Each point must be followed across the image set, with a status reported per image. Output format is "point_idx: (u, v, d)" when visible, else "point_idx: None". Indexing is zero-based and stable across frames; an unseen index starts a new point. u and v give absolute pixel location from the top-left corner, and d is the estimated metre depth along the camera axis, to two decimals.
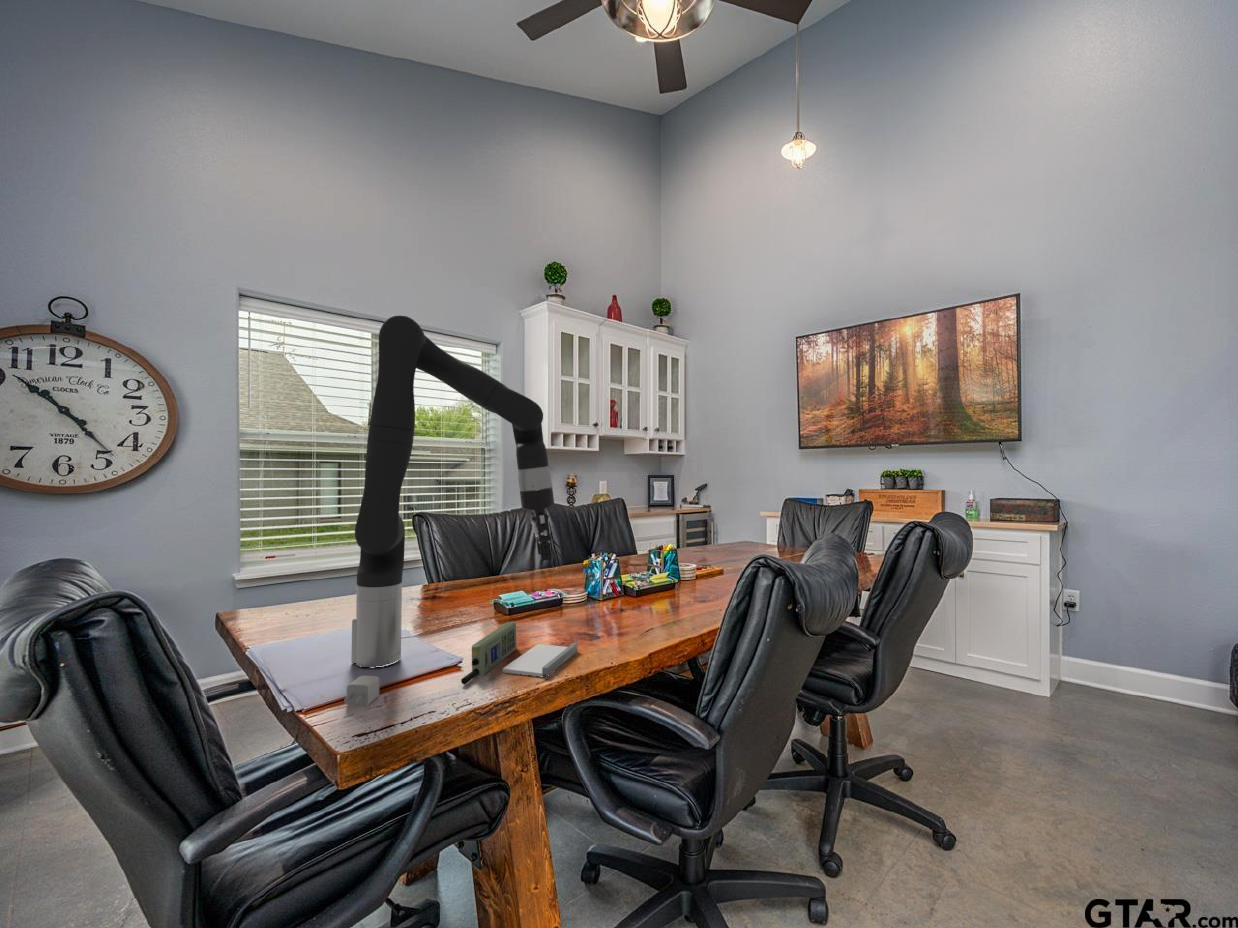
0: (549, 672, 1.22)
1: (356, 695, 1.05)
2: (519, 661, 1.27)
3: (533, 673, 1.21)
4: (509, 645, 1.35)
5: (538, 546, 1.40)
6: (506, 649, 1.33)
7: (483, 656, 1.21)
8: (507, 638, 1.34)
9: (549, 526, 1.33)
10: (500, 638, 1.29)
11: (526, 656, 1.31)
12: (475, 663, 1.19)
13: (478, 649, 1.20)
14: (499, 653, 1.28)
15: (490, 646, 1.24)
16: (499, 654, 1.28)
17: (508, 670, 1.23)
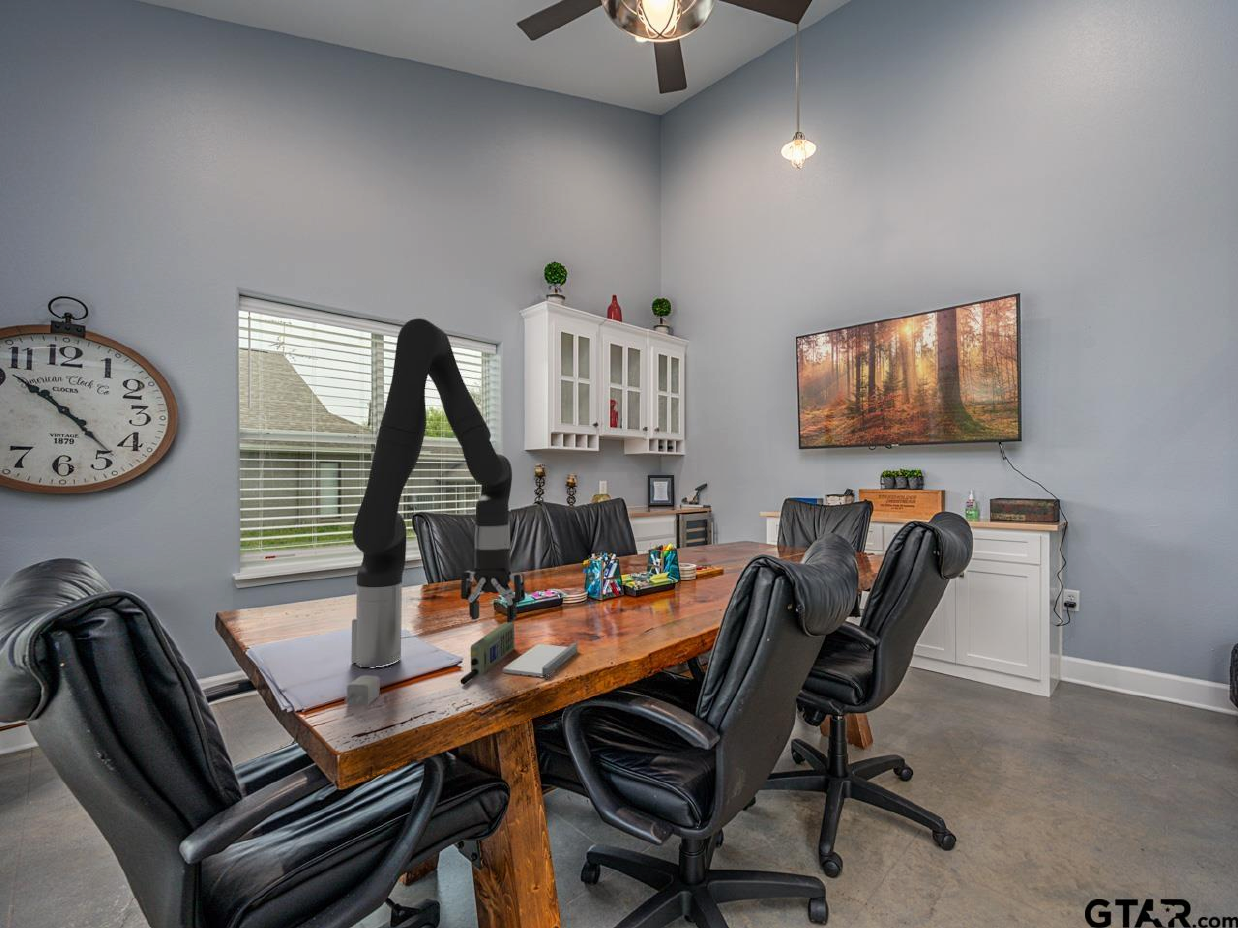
0: (549, 672, 1.22)
1: (357, 695, 1.05)
2: (519, 661, 1.27)
3: (533, 673, 1.21)
4: (507, 645, 1.35)
5: (474, 610, 1.28)
6: (504, 649, 1.33)
7: (482, 656, 1.21)
8: (505, 638, 1.34)
9: None
10: (499, 638, 1.29)
11: (526, 656, 1.31)
12: (474, 663, 1.19)
13: (477, 649, 1.20)
14: (498, 653, 1.28)
15: (489, 646, 1.24)
16: (498, 654, 1.28)
17: (508, 670, 1.23)
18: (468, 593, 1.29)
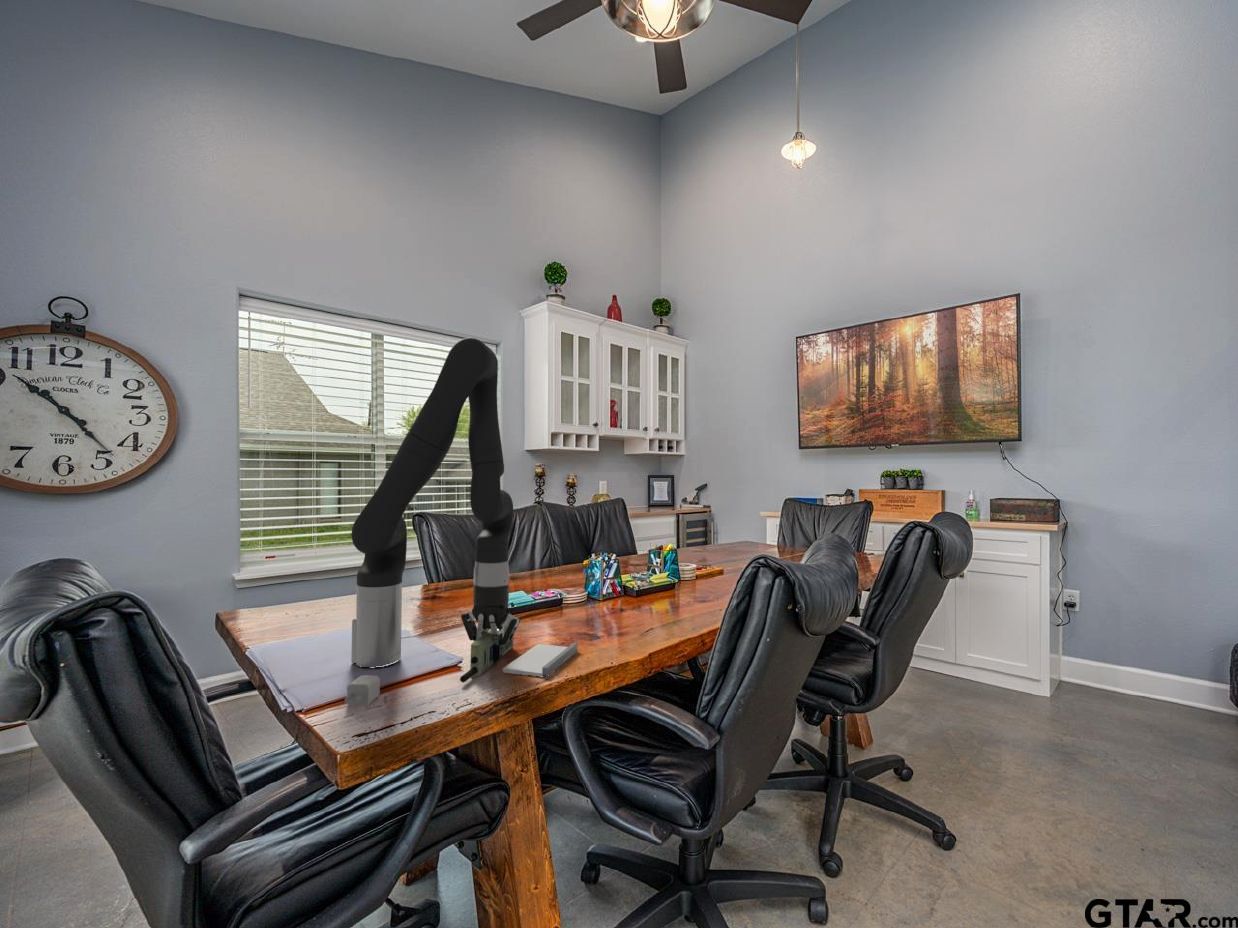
0: (549, 672, 1.22)
1: (357, 695, 1.05)
2: (519, 661, 1.27)
3: (533, 673, 1.21)
4: (506, 644, 1.35)
5: None
6: (503, 648, 1.33)
7: (482, 654, 1.21)
8: None
9: (503, 625, 1.28)
10: None
11: (526, 656, 1.31)
12: (474, 661, 1.19)
13: (477, 647, 1.20)
14: None
15: (489, 645, 1.24)
16: None
17: (508, 670, 1.23)
18: (476, 634, 1.28)
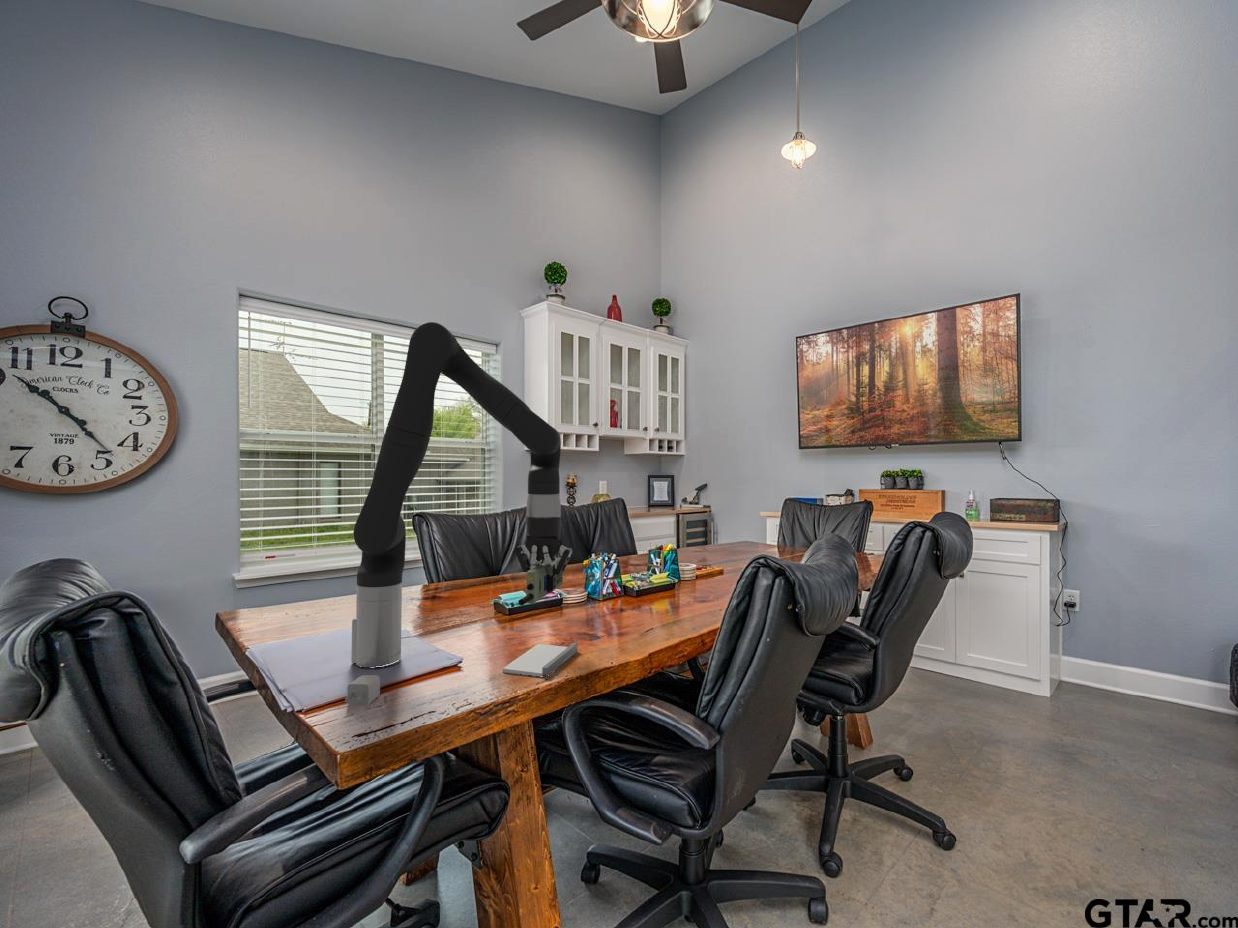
0: (549, 672, 1.22)
1: (357, 695, 1.05)
2: (519, 661, 1.27)
3: (533, 673, 1.21)
4: (557, 579, 1.38)
5: None
6: None
7: (537, 582, 1.24)
8: None
9: (555, 557, 1.31)
10: None
11: (526, 656, 1.31)
12: (530, 588, 1.22)
13: (533, 575, 1.23)
14: None
15: (543, 574, 1.27)
16: None
17: (508, 670, 1.23)
18: (529, 566, 1.31)
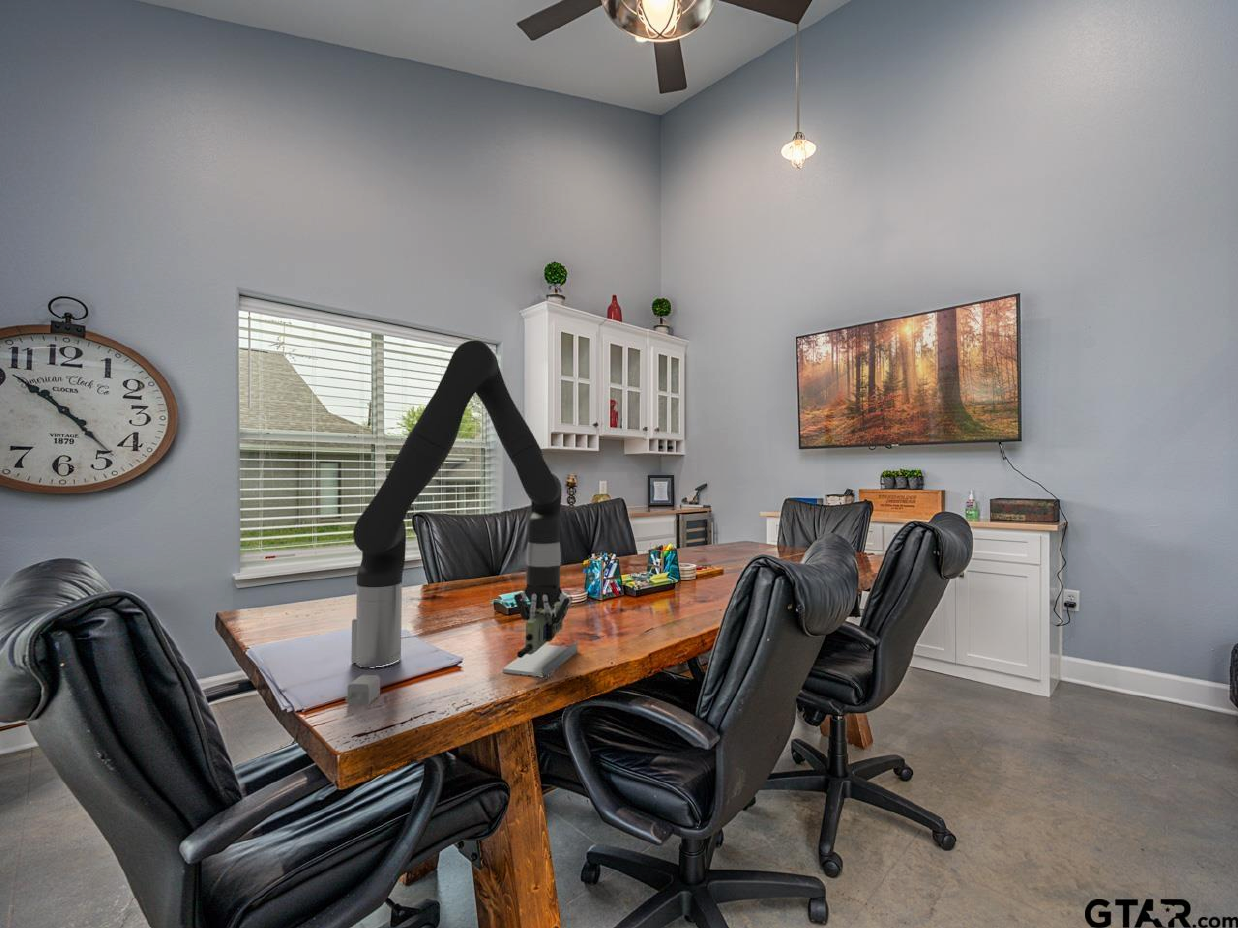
0: (549, 672, 1.22)
1: (357, 694, 1.05)
2: (519, 661, 1.27)
3: (533, 673, 1.21)
4: (557, 624, 1.38)
5: None
6: None
7: (537, 632, 1.24)
8: None
9: None
10: None
11: (526, 656, 1.31)
12: (529, 638, 1.23)
13: (532, 625, 1.24)
14: None
15: (543, 623, 1.27)
16: None
17: (508, 670, 1.23)
18: (529, 614, 1.31)
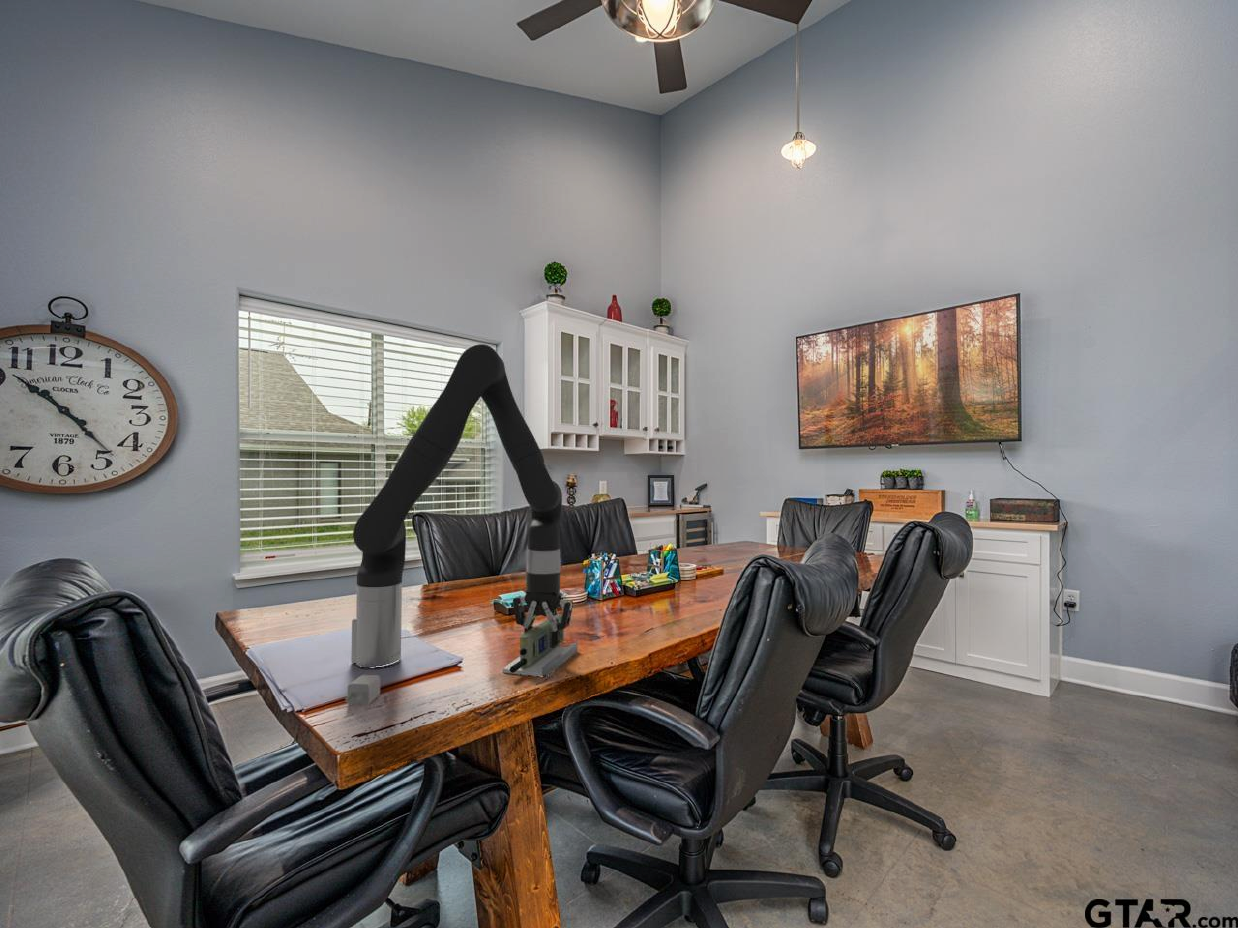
0: (549, 672, 1.22)
1: (357, 694, 1.05)
2: None
3: (533, 673, 1.21)
4: None
5: None
6: None
7: (531, 646, 1.24)
8: None
9: (557, 611, 1.31)
10: (548, 630, 1.33)
11: None
12: (523, 653, 1.23)
13: (526, 639, 1.24)
14: (546, 644, 1.31)
15: (538, 637, 1.27)
16: (546, 645, 1.31)
17: (508, 670, 1.23)
18: (523, 619, 1.32)
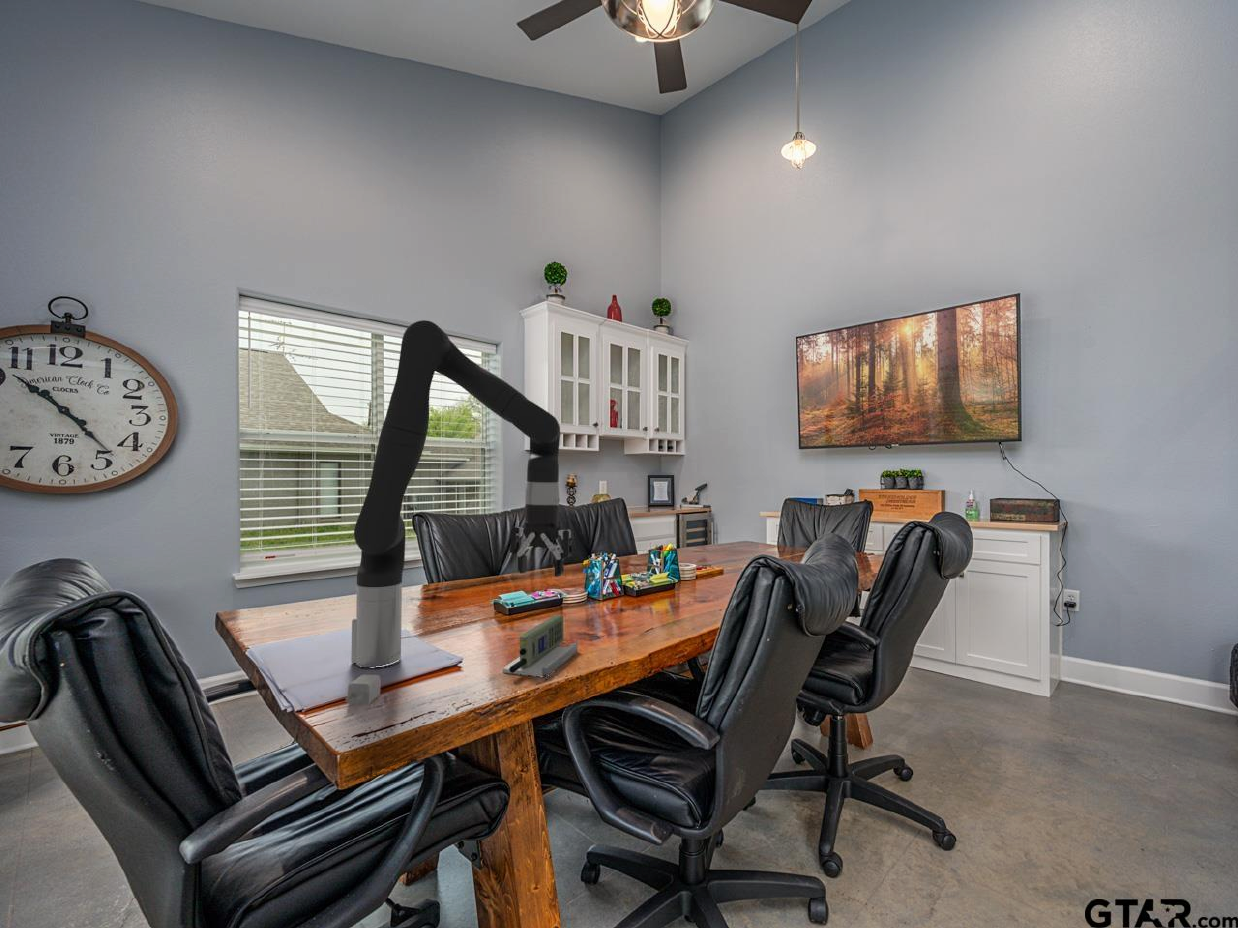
0: (549, 672, 1.22)
1: (357, 694, 1.05)
2: None
3: (533, 673, 1.21)
4: (556, 637, 1.38)
5: (522, 564, 1.32)
6: (553, 641, 1.36)
7: (530, 646, 1.24)
8: (554, 630, 1.37)
9: None
10: (547, 630, 1.33)
11: None
12: (523, 653, 1.23)
13: (526, 639, 1.24)
14: (546, 644, 1.31)
15: (537, 637, 1.27)
16: (546, 645, 1.31)
17: (508, 670, 1.23)
18: (517, 548, 1.33)
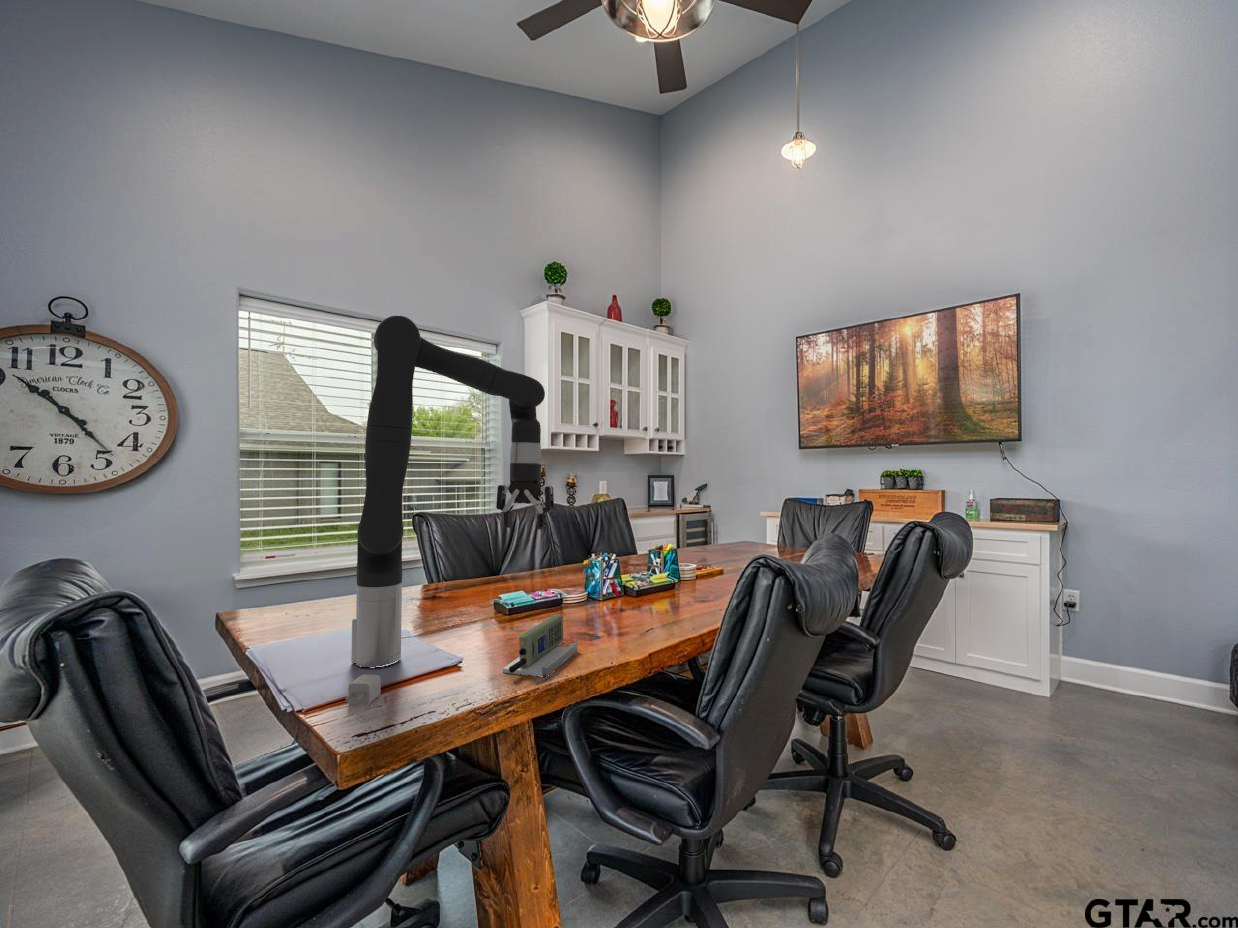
0: (549, 672, 1.22)
1: (358, 694, 1.05)
2: None
3: (533, 673, 1.21)
4: (556, 637, 1.38)
5: (508, 519, 1.43)
6: (553, 641, 1.36)
7: (530, 646, 1.24)
8: (554, 630, 1.37)
9: None
10: (547, 630, 1.33)
11: None
12: (522, 653, 1.23)
13: (525, 639, 1.24)
14: (546, 644, 1.31)
15: (537, 637, 1.27)
16: (546, 645, 1.31)
17: (508, 670, 1.23)
18: (502, 505, 1.44)
